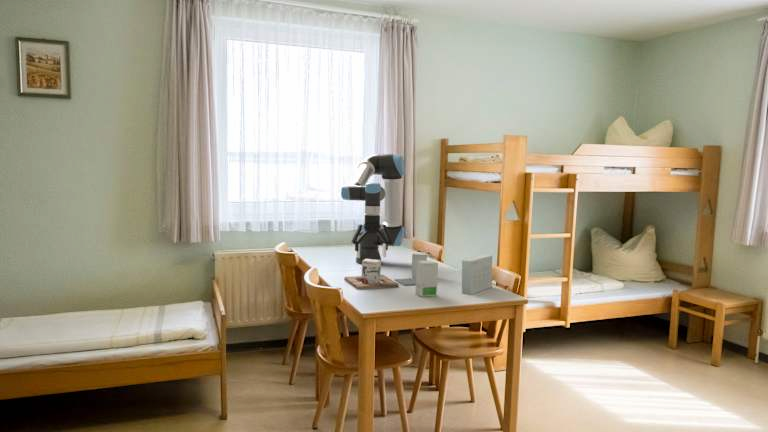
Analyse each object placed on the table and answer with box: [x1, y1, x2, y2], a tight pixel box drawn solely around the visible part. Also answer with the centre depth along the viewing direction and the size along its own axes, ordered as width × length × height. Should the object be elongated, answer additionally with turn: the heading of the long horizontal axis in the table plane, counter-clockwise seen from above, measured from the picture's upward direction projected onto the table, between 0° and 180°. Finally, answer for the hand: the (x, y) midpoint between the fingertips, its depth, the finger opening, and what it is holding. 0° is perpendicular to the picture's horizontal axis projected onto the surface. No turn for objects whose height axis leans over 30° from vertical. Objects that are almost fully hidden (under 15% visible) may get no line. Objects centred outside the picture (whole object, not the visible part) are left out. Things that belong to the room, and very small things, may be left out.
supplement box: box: [410, 251, 428, 278], centre depth 285 cm, size 7×7×13 cm
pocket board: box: [344, 274, 399, 291], centre depth 267 cm, size 21×21×2 cm
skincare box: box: [415, 260, 439, 298], centre depth 247 cm, size 8×7×16 cm
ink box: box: [361, 259, 382, 284], centre depth 267 cm, size 9×5×12 cm, turn 70°
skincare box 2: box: [461, 254, 493, 296], centre depth 259 cm, size 21×6×16 cm, turn 141°
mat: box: [394, 277, 416, 287], centre depth 272 cm, size 12×12×1 cm
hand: (371, 257), depth 266 cm, fingers open, 13 cm apart
